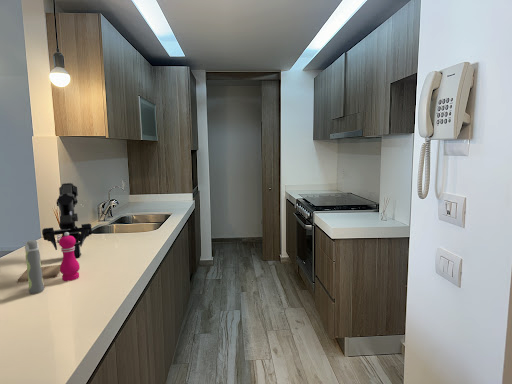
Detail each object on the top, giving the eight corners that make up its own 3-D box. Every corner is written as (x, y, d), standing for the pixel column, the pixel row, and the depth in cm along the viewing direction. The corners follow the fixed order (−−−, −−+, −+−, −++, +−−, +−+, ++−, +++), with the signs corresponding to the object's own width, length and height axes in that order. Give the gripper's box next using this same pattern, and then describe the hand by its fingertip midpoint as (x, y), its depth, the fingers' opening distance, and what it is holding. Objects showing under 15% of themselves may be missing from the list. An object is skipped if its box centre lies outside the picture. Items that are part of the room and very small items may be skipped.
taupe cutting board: (63, 266, 152) (62, 264, 152) (56, 277, 139) (56, 274, 139) (27, 271, 147) (27, 268, 147) (17, 282, 134) (17, 279, 134)
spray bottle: (41, 287, 128) (36, 238, 126) (46, 291, 125) (40, 240, 123) (27, 292, 124) (21, 241, 122) (31, 295, 121) (25, 243, 119)
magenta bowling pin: (76, 273, 143) (72, 229, 140) (83, 277, 138) (79, 231, 136) (58, 279, 137) (53, 232, 135) (65, 283, 133) (60, 235, 130)
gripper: (40, 210, 138) (39, 241, 130) (89, 205, 147) (92, 234, 138) (44, 224, 146) (44, 255, 138) (90, 220, 155) (93, 248, 146)
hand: (68, 247), depth 140 cm, fingers open, 9 cm apart
